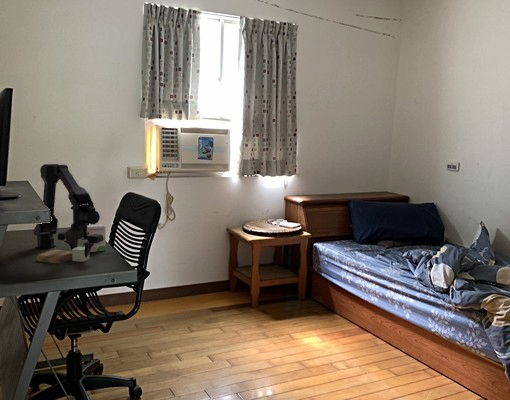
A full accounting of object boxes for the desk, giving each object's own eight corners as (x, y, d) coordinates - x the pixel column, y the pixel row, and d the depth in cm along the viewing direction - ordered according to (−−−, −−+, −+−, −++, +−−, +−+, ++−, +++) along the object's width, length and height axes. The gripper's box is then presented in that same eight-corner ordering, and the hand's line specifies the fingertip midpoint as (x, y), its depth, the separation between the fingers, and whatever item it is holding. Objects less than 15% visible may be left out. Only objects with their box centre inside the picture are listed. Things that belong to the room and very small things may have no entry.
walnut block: (37, 261, 205) (37, 255, 205) (54, 255, 216) (54, 249, 215) (60, 264, 202) (60, 257, 202) (76, 258, 213) (76, 251, 213)
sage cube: (72, 260, 207) (72, 249, 207) (79, 257, 212) (78, 246, 212) (82, 261, 206) (82, 250, 206) (89, 258, 211) (89, 247, 210)
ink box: (103, 248, 230) (103, 224, 228) (105, 251, 225) (105, 226, 224) (84, 250, 225) (84, 225, 224) (86, 252, 221) (86, 227, 219)
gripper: (48, 222, 201) (49, 259, 203) (89, 226, 197) (89, 263, 199) (65, 218, 212) (65, 253, 214) (103, 221, 208) (104, 257, 210)
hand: (80, 256), depth 209 cm, fingers closed on sage cube, 5 cm apart
